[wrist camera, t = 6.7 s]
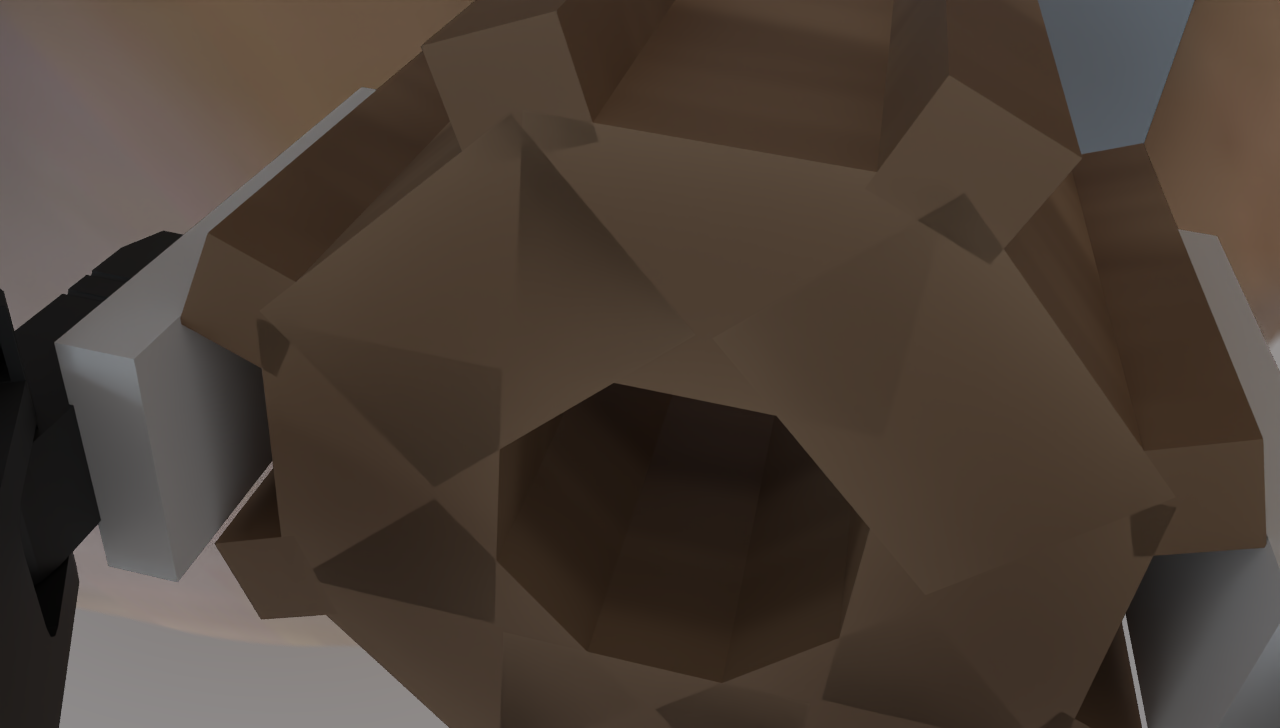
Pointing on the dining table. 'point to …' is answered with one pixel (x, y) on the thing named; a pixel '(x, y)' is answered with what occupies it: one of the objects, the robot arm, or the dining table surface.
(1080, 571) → the gear
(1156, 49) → the gear board
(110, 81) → the dining table surface
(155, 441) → the robot arm
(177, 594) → the dining table surface
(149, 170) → the dining table surface
